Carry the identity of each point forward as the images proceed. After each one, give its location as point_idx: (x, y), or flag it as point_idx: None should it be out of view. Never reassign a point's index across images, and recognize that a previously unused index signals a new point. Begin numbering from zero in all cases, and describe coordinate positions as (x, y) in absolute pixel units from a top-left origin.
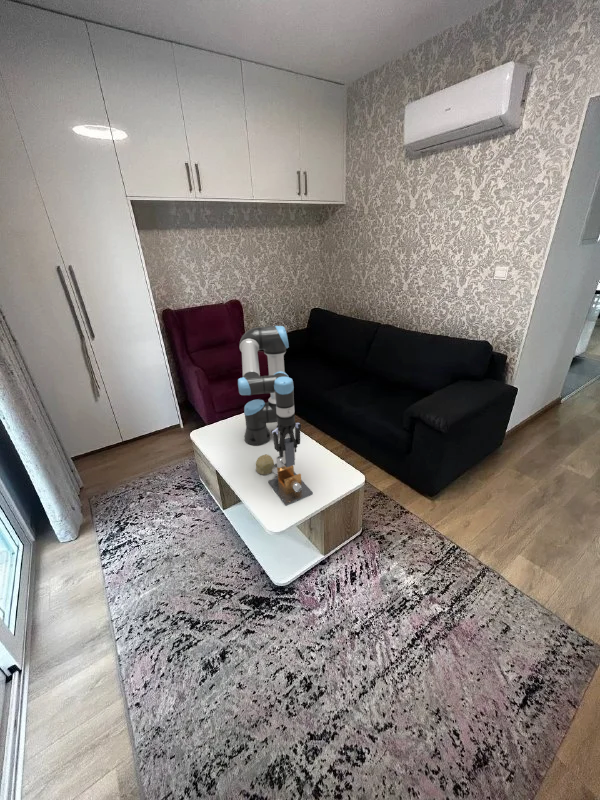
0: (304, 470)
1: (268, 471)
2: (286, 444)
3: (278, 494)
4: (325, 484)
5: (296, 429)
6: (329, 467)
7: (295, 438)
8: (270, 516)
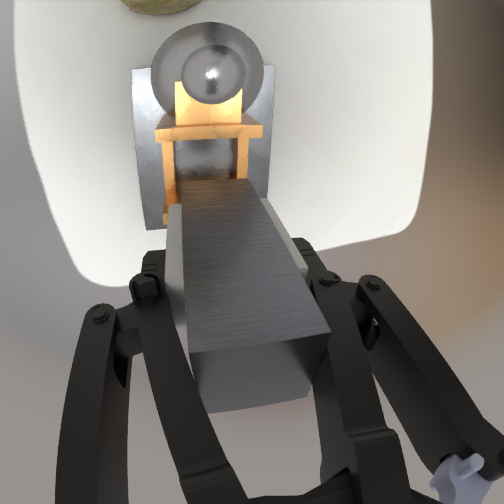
0: (320, 80)
1: (160, 13)
2: (216, 408)
3: (139, 172)
4: (330, 195)
5: (434, 444)
6: (398, 129)
7: (379, 318)
8: (88, 246)
